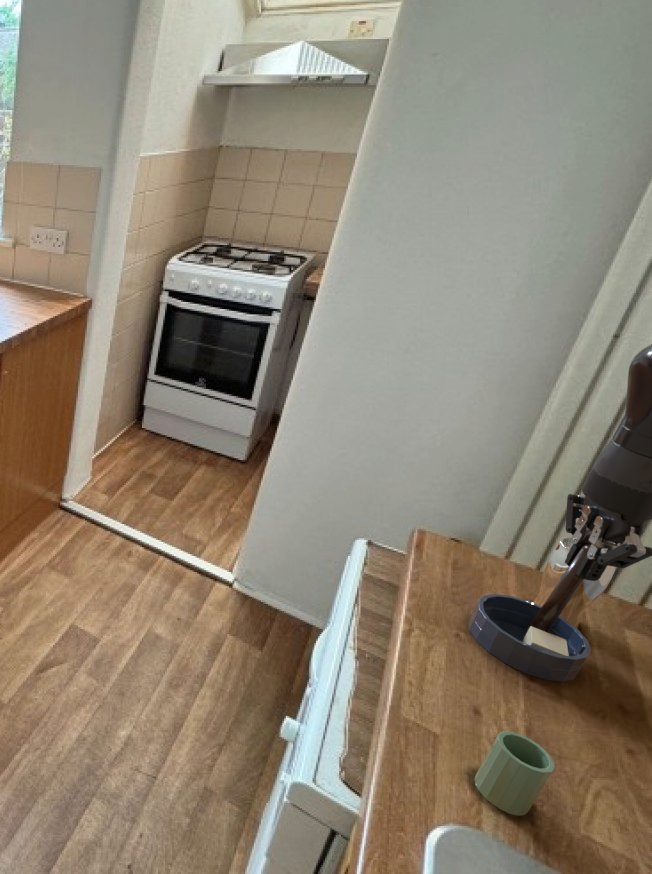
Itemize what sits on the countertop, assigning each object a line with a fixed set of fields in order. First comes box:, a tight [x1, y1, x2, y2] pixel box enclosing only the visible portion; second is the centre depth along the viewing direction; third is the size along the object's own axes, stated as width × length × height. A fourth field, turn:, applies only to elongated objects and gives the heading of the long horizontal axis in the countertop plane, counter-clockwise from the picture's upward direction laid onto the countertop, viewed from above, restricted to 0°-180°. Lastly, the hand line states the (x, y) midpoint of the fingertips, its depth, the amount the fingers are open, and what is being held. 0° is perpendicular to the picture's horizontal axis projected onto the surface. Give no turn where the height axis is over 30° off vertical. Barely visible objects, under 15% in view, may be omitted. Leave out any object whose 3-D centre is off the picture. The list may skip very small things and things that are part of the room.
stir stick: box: [526, 544, 602, 633], centre depth 92 cm, size 2×2×19 cm
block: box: [522, 626, 569, 656], centre depth 93 cm, size 4×4×4 cm
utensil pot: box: [474, 730, 556, 817], centre depth 74 cm, size 5×5×9 cm
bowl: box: [467, 593, 592, 683], centre depth 95 cm, size 13×13×6 cm
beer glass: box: [531, 536, 617, 630], centre depth 99 cm, size 7×7×15 cm
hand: (579, 571), depth 90 cm, fingers closed on stir stick, 2 cm apart
